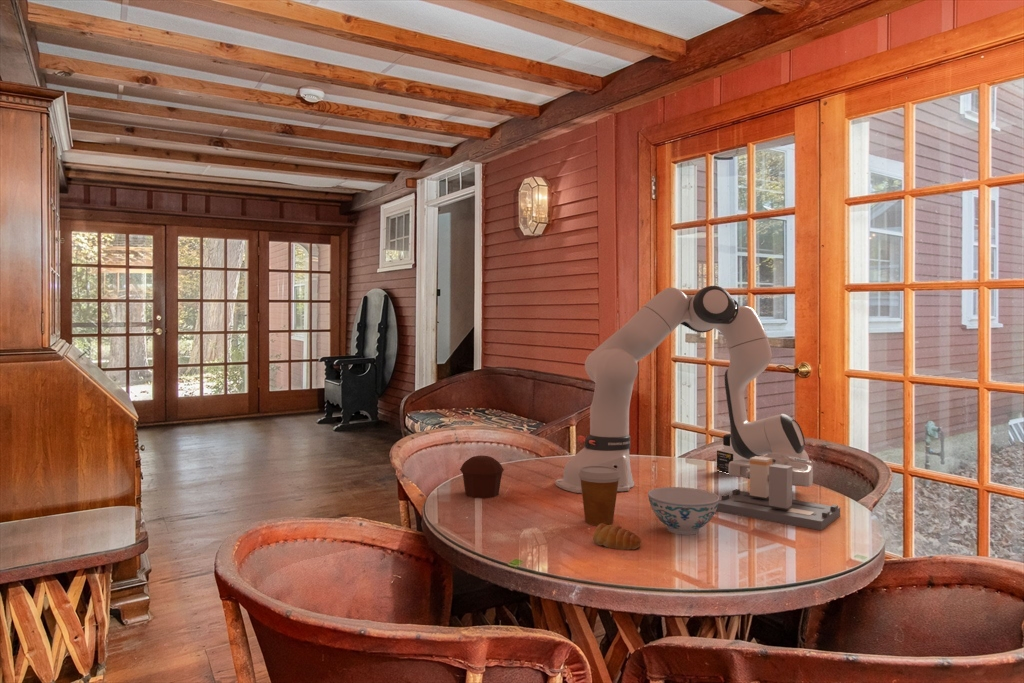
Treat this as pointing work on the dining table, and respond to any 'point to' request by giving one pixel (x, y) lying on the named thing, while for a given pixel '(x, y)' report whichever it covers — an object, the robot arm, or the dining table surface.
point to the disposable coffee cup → (599, 493)
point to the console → (779, 510)
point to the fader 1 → (759, 477)
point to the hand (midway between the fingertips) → (759, 477)
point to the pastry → (615, 537)
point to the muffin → (482, 477)
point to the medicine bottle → (727, 455)
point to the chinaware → (683, 508)
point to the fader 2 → (780, 486)
